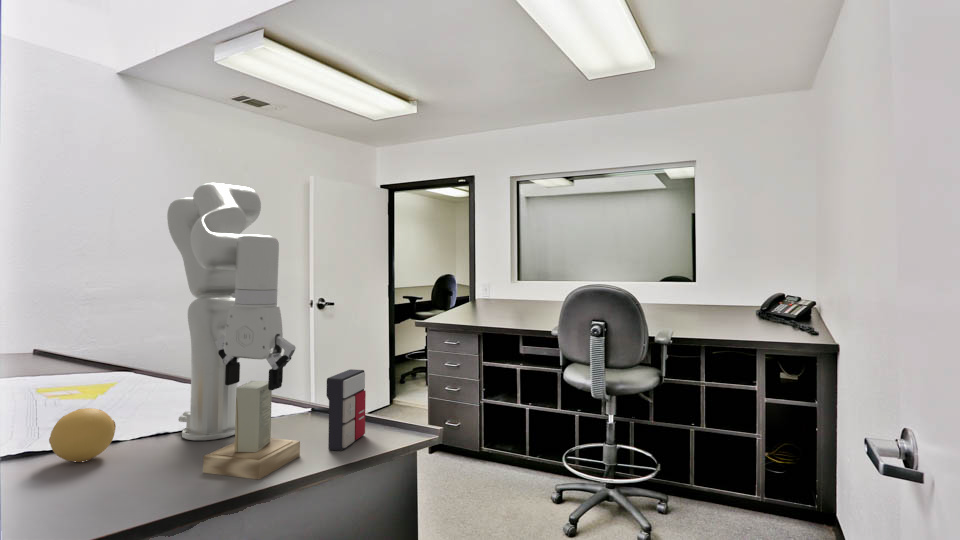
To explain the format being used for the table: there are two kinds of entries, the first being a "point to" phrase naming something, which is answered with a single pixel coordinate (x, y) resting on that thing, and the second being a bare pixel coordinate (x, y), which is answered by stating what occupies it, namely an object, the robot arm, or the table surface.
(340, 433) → the grey red panelled box
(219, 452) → the oak plinth
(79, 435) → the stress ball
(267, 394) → the skincare box
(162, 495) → the table surface
